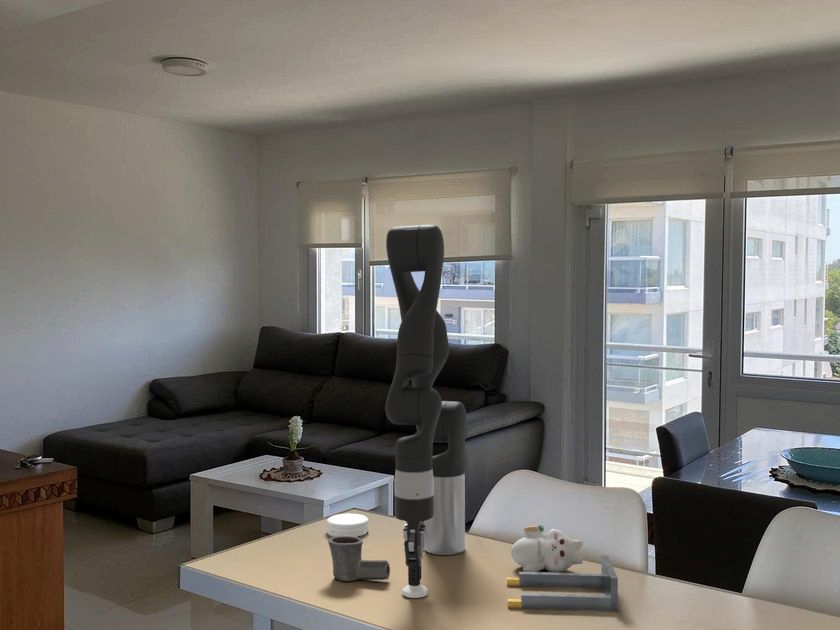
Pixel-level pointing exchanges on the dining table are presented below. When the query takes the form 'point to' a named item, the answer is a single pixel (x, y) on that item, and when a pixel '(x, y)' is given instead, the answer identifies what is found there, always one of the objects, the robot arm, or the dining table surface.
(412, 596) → the chess piece
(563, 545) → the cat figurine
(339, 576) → the pipe
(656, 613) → the dining table surface
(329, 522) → the round white light
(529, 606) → the bracket
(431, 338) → the robot arm
